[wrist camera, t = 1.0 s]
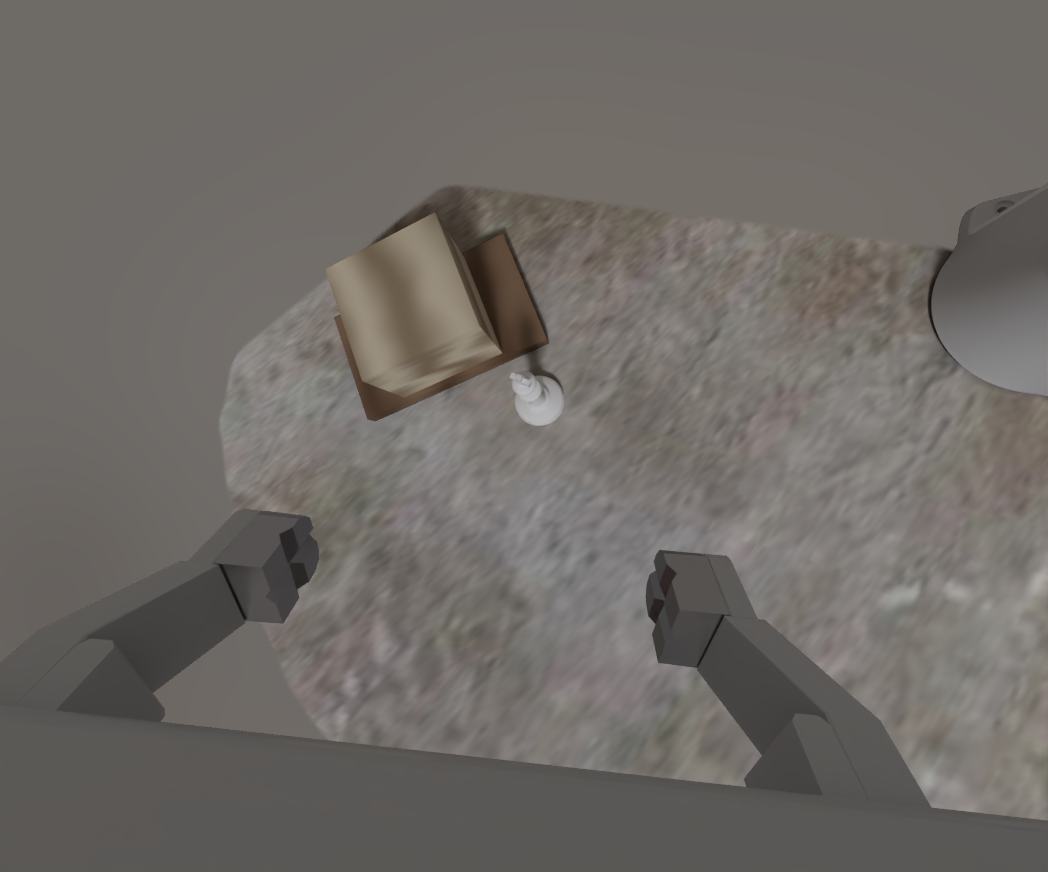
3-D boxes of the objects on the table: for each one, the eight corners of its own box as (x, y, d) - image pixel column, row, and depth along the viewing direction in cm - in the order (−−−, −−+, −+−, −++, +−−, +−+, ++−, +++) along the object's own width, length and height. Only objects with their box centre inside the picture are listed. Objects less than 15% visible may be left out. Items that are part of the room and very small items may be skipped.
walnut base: (506, 241, 44) (480, 182, 35) (548, 343, 42) (533, 307, 33) (342, 322, 47) (281, 286, 38) (375, 421, 45) (318, 407, 36)
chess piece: (529, 368, 42) (504, 335, 32) (573, 388, 41) (562, 361, 31) (506, 412, 42) (476, 392, 32) (550, 434, 41) (532, 420, 31)
